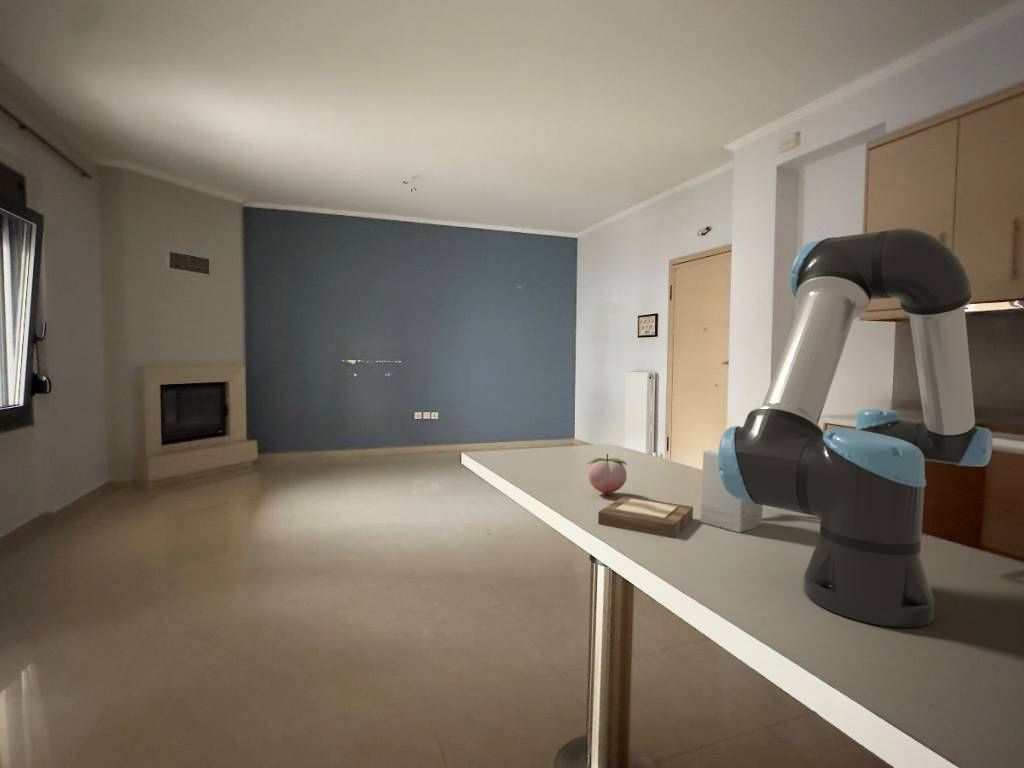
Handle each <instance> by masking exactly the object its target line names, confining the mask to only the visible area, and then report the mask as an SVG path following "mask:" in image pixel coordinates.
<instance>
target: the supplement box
mask: <svg viewBox="0 0 1024 768" xmlns="http://www.w3.org/2000/svg"><path fill="white" fill-rule="evenodd" d="M718 451H719V447H718V448H713V449H705V450H703V451H702V458H703V459H702V471H701V472H702V475H701V490H700V491H701V492H700V493H701V494H700V517H699V522H700V523H702V524H707V525H709V526H714V527H717V528H720V527H721V529H724V530H728V531H731V530H732V532H735V531H736V532H735V533H738V532H740V533H739V534H742V533H743V531H745V532H747V531H750V530H753V529H756V528H758V527H757V526H759V527H761V526H762V524H763V507H764V505H761V504H758V505H756V504H753V503H752V502H749V501H746V500H742V499H738V498H736V497H734V496H732V495H731V494H730V493H729V492H728V491H727V490H726V488H725V487H724V485H723V483H722V480H721V477H720V473H719V466H718ZM760 525H761V526H760ZM755 527H756V528H755ZM752 528H753V529H752ZM749 529H750V530H749ZM746 530H747V531H746ZM741 532H742V533H741Z"/></svg>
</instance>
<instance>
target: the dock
mask: <svg viewBox="0 0 1024 768" xmlns="http://www.w3.org/2000/svg"><path fill="white" fill-rule="evenodd" d="M693 514H694V506H692V505H691V506H690V505H684V504H676V503H673V502H671V503H670V502H666V501H665V502H664V501H660V500H659V501H657V500H652V499H645V498H639V497H632V496H625V495H624V496H622V497H620V498H619V499H617V500H615V501H614V502H612V503H610V504H609V505H607V506H605V507H603V508H602V509H600V510H598V521H597V523H598V525H603V526H608V527H614V528H619V529H625V530H630V531H636V532H640V533H645V532H646V533H645V534H650V533H651V535H656V534H657V535H658V536H661V535H663V537H667V536H668V537H669V538H672V537H673V538H672V539H674V538H675V537H677V535H678V534H679V533H680V532H681V531H682V530H683V529H684V528H685V527H686V526H687V525H688V524H689V523H690V522H691V521H692V520H693V519H692V518H693V517H694V515H693ZM691 519H692V520H691ZM690 520H691V521H690ZM689 521H690V522H689ZM688 522H689V523H688ZM687 523H688V524H687ZM686 524H687V525H686ZM685 525H686V526H685ZM684 526H685V527H684ZM657 535H656V536H657Z"/></svg>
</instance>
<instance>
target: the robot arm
mask: <svg viewBox="0 0 1024 768" xmlns="http://www.w3.org/2000/svg"><path fill="white" fill-rule="evenodd" d="M791 273H792V275H791V276H790V279H789V281H790V289H791V292H792V295H793V297H794V299H796V302H797V305H798V306H799V310H798V312H797V315H796V318H795V320H794V323H793V325H792V327H791V330H790V333H789V336H788V338H787V340H786V343H785V345H784V349H783V351H782V353H781V357H780V359H779V361H778V364H777V367H776V368H775V369H776V370H775V372H774V374H773V377H772V379H771V382H770V384H769V387H768V389H767V392H766V394H765V397H764V400H763V403H762V405H761V406H759V407H755V408H754V409H752V410H750V412H749V413H748V414H747V417H746V419H745V422H744V423H743V426H740V425H735V426H731V427H729V428H727V429H726V430H725V431H724V432H723V434H722V436H721V439H720V442H719V445H718V446H719V447H718V448H719V451H718V466H719V473H720V477H721V480H722V483H723V485H724V487H725V488H726V490H727V491H728V492H729V493H730V494H731V495H732V496H734V497H736V498H738V499H742V500H746V501H749V502H752V503H753V504H756V505H758V504H761V505H763V506H767V507H772V508H777V509H781V510H787V511H791V512H795V513H799V514H805V515H810V516H814V517H817V518H819V521H820V522H819V524H820V527H819V539H818V542H817V543H816V546H815V548H814V550H813V553H812V556H811V558H810V559H809V562H808V564H807V567H806V569H805V571H804V574H803V592H804V595H805V596H807V598H808V599H809V600H810V601H812V602H814V603H815V604H816V605H818V606H820V607H822V608H824V609H826V610H827V611H830V612H833V613H835V614H837V615H839V616H843V617H846V618H849V619H852V620H856V621H859V622H863V623H867V624H868V623H869V624H872V625H873V624H874V625H878V626H884V627H891V628H892V627H893V628H918V627H924V626H926V625H929V624H931V623H932V622H933V621H934V618H935V605H936V604H935V598H934V595H933V592H932V589H931V585H930V583H929V579H928V576H927V573H926V570H925V567H924V564H923V561H922V556H921V549H922V531H923V518H924V517H923V516H924V501H925V487H926V486H927V479H926V477H925V475H926V474H925V473H926V469H925V467H926V466H925V465H926V463H925V461H927V462H936V463H941V464H949V465H956V466H959V467H960V466H963V467H977V468H978V467H980V468H982V467H985V466H987V465H988V464H989V462H990V461H991V457H992V452H993V434H992V431H991V430H990V429H989V428H987V427H980V426H978V425H976V418H975V408H974V406H975V405H974V394H973V387H972V375H971V373H972V372H971V365H970V363H971V362H970V354H969V353H970V351H969V344H968V343H969V341H968V331H967V321H966V319H967V318H966V310H965V307H967V306H968V305H969V304H970V303H971V301H972V287H971V282H970V278H969V274H968V272H967V270H966V268H965V266H964V264H963V263H962V261H961V260H960V258H959V256H957V255H956V253H955V252H954V251H953V250H952V249H951V248H950V247H949V246H948V245H947V244H946V243H944V242H943V241H942V240H940V239H939V238H937V237H936V236H934V235H932V234H930V233H928V232H925V231H924V230H920V229H915V228H905V227H900V228H893V229H890V230H889V229H888V230H883V231H882V230H881V231H873V232H867V233H859V234H851V235H843V236H837V237H833V236H832V237H826V238H823V239H820V240H816V241H812V242H808V243H807V244H806V245H804V246H803V247H802V248H801V249H800V250H799V251H798V252H797V254H796V255H795V258H794V259H793V263H792V266H791ZM892 298H895V299H896V298H897V299H899V301H900V303H899V304H900V308H901V311H902V312H903V313H905V314H906V315H908V316H909V321H910V330H911V338H912V342H913V344H912V345H913V351H914V357H915V365H916V373H917V379H918V385H919V393H920V399H921V400H920V401H921V405H922V406H921V407H922V413H923V422H921V421H919V422H918V421H911V420H905V419H904V420H903V419H901V415H900V412H898V411H897V410H891V409H882V408H881V409H880V408H879V409H878V408H877V409H876V408H864V409H863V408H862V409H861V410H859V411H858V412H857V416H856V426H855V429H851V428H850V429H849V428H843V427H842V428H841V427H831V428H827V429H826V430H825V431H824V430H823V428H822V427H821V426H820V425H819V422H820V420H821V415H822V413H823V410H824V407H825V404H826V402H827V399H828V396H829V392H830V390H831V386H832V384H833V381H834V378H835V375H836V373H837V370H838V366H839V363H840V360H841V357H842V354H843V352H844V349H845V345H846V342H847V340H848V336H849V334H850V330H851V328H852V325H853V322H854V320H856V319H857V318H859V317H861V316H863V315H864V314H865V313H866V312H867V311H868V308H869V306H870V303H871V300H878V299H879V300H882V299H892Z"/></svg>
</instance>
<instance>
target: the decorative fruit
mask: <svg viewBox="0 0 1024 768" xmlns="http://www.w3.org/2000/svg"><path fill="white" fill-rule="evenodd" d="M587 465H590V466H589V469H588V480H589V483H590V485H591V486H592V487H593V488H594V489H595V490H596V491H598V492H600V493H602V494H603V495H605V496H607V495H611V494H613V493H615V492H617V491H618V490H620V489H621V488H623V486H624V485H625V483H626V481H627V478H628V477H627V471H626V467H625V466H624V465H626V466H628V463H626V462H625V461H624V460H623V459H621V458H616V457H613V458H609V454H606V458H603V457H597V458H596V457H595V458H593V459H590V461H589V462H588V463H587Z"/></svg>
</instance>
